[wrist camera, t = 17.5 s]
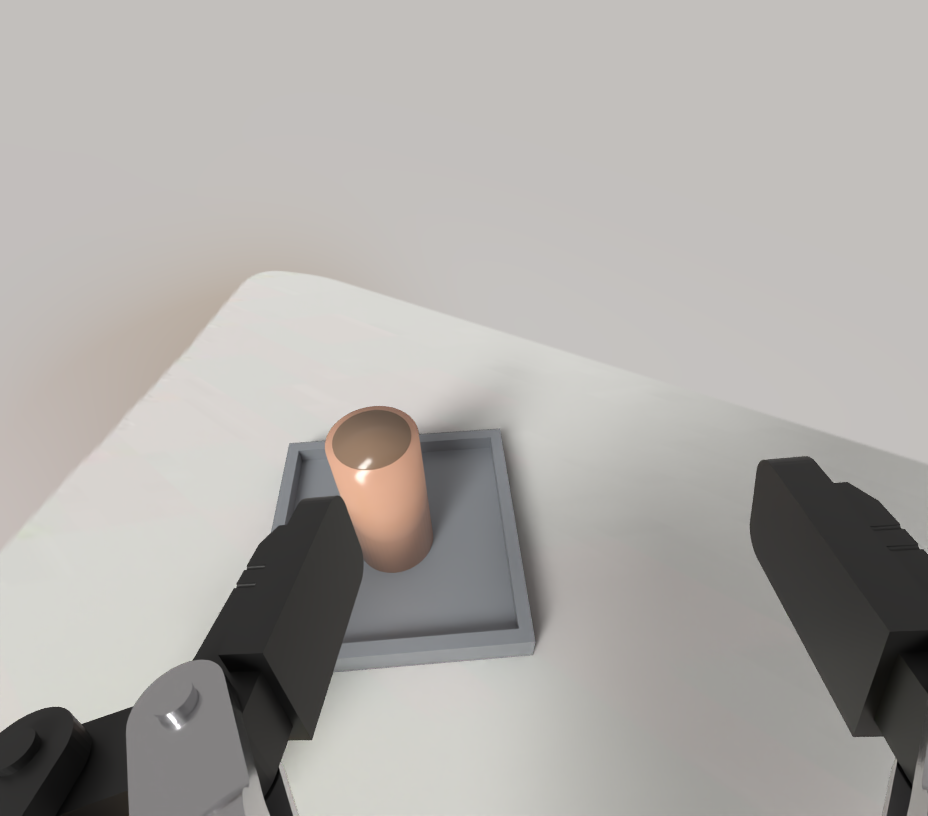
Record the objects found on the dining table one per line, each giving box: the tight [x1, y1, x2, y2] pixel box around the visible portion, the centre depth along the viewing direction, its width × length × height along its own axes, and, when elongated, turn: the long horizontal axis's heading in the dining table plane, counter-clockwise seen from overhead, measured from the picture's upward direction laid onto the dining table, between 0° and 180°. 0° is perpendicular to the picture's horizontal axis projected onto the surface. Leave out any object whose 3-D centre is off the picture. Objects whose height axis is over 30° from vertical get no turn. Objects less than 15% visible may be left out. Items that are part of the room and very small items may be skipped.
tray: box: [271, 429, 535, 672], centre depth 35 cm, size 16×16×2 cm
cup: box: [325, 406, 433, 573], centre depth 32 cm, size 5×5×10 cm
